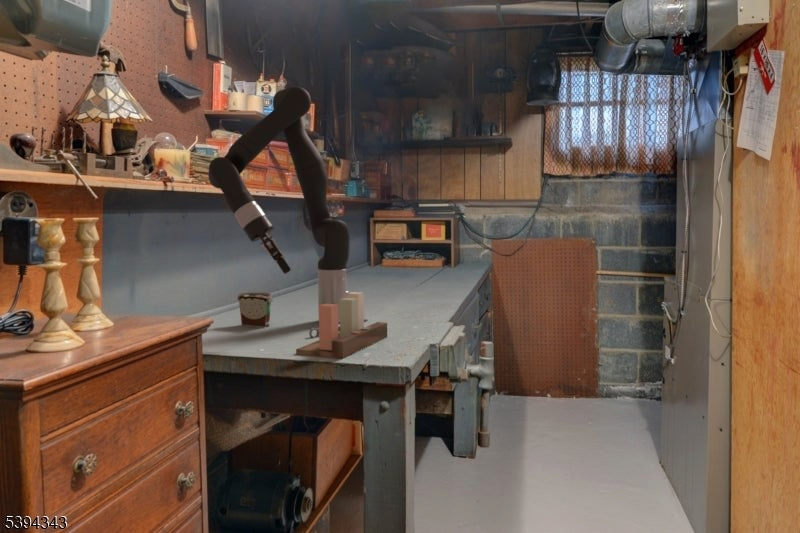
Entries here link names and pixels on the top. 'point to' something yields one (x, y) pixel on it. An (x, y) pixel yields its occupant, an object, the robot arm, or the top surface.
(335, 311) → the terracotta key
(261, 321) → the food container
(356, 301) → the sage key
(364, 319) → the combination wrench
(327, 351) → the brown wooden base
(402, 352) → the top surface
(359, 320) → the tan upright block
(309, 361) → the top surface
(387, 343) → the top surface
